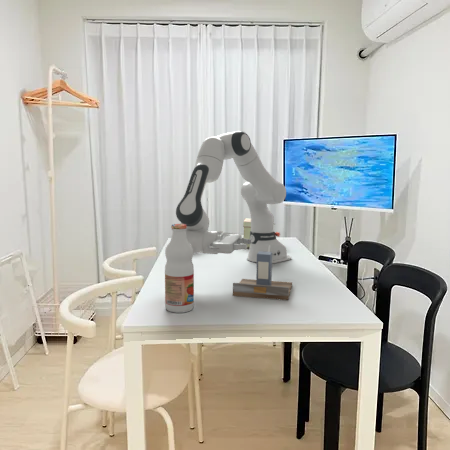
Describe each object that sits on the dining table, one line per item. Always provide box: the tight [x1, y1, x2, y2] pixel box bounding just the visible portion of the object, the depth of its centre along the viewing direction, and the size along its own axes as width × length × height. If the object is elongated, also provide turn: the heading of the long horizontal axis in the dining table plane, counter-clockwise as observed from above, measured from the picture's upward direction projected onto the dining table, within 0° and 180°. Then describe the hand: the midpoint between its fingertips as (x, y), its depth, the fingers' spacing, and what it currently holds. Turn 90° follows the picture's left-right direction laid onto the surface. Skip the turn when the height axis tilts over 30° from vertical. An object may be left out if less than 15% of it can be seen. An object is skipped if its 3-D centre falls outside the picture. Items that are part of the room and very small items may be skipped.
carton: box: [255, 251, 273, 286], centre depth 163 cm, size 5×5×13 cm
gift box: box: [242, 217, 251, 249], centre depth 249 cm, size 17×18×17 cm
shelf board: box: [232, 278, 293, 301], centre depth 164 cm, size 18×20×4 cm
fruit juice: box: [164, 223, 195, 314], centre depth 142 cm, size 9×9×28 cm
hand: (249, 244), depth 163 cm, fingers open, 8 cm apart
